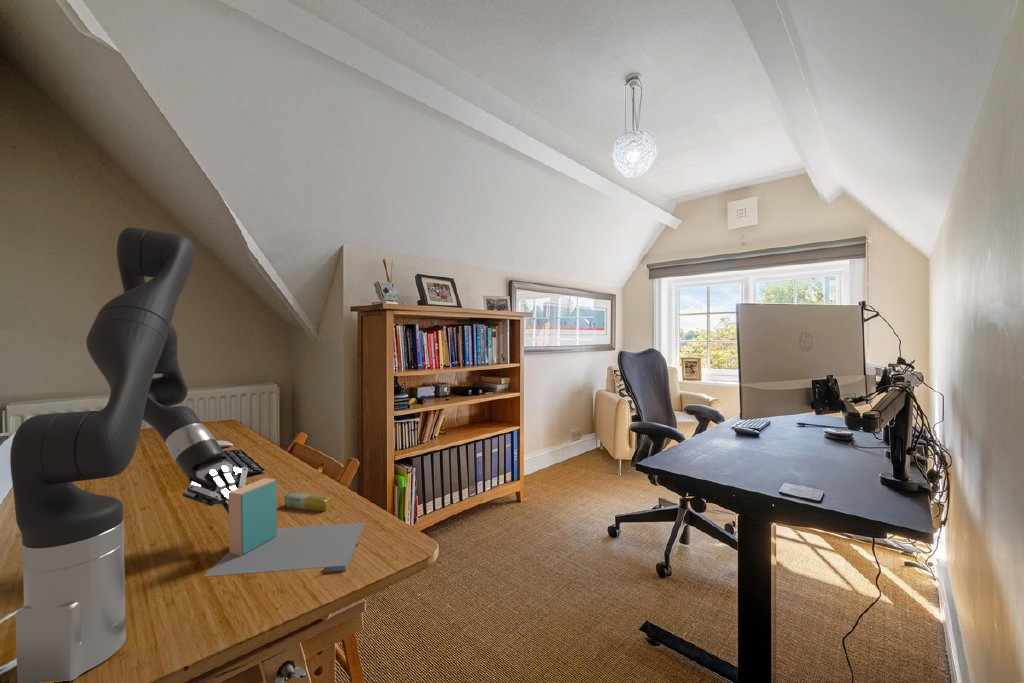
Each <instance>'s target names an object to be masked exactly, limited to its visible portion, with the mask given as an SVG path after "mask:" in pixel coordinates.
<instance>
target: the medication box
mask: <svg viewBox="0 0 1024 683" xmlns="http://www.w3.org/2000/svg"><path fill="white" fill-rule="evenodd" d="M332 499H333V497H332V496H328V495H327V496H326V495H319V494H311V493H303V492H296V491H291V492H289V493H288V494H285V496H284V507H287V508H293V509H300V510H309V511H317V512H327V511H329V510H330V509H332V507H333V506H332V504H333V500H332Z"/></svg>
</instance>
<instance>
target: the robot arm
mask: <svg viewBox="0 0 1024 683" xmlns="http://www.w3.org/2000/svg"><path fill="white" fill-rule="evenodd" d="M195 252H196V251H195V247H194V244H193V242H192V241H191V239H189V238H188V237H187V236H184V235H181V234H176V233H171V232H165V231H159V230H153V229H147V228H146V229H145V228H140V227H131V226H129V227H125V228H124V229H123V230H121V232H120V233H119V235H118V239H117V242H116V259H117V265H118V270H119V271H118V272H119V275H120V280H121V285H122V290H123V292H122V293H121V294H118V295H117V296H115V297H113V298H112V299H110V300H109V301H108V302H106V303H105V304H104V305H103V306H102V307H101V309H100V310H99V312H98V313H97V315H96V317H95V320H94V321H93V323H92V325H91V327H90V330H89V331H88V334H87V337H86V340H85V342H86V343H85V344H86V348H87V351H88V354H89V356H90V358H91V360H92V361H93V363H94V364H95V366H96V367H97V368H98V370H99V371H100V372H101V374H102V375H103V376H104V378H105V380H106V382H107V384H108V386H109V389H110V394H109V399H108V402H107V404H106V405H105V407H103V408H102V409H100V410H85V411H84V410H83V411H70V412H69V411H68V412H67V411H66V412H53V413H44V414H43V413H41V414H37V415H36V414H35V415H34V416H31V417H29V418H27V419H26V420H24V421H22V423H21V424H20V425H19V427H17V429H16V431H15V434H14V435H13V438H12V441H11V442H12V443H11V446H10V452H9V453H10V455H9V456H10V457H9V458H10V459H9V462H10V473H11V474H10V475H11V483H12V489H13V500H14V510H15V511H14V512H15V521H16V524H17V528H18V529H19V531H20V533H21V540H22V541H21V544H22V578H23V580H22V582H23V585H22V586H23V607H21V608H20V609H19V610H17V611H16V612H15V614H14V617H15V640H16V641H15V644H16V645H15V647H16V652H15V653H16V679H17V681H16V682H17V683H38V682H39V683H40V682H50V681H61V680H69V681H70V682H72V681H71V680H73V681H75V680H76V679H77V678H78V677H79V676H81V675H82V674H84V673H85V672H87V671H89V670H91V669H93V668H95V667H97V666H99V665H100V664H102V663H104V662H105V661H106V660H109V658H111V657H112V656H113V655H114V654H116V653H117V652H118V651H119V650H120V649H121V648H122V646H123V645H124V643H125V642H126V640H127V628H126V627H127V625H126V624H127V623H126V621H127V620H126V618H127V617H126V588H125V587H126V578H125V577H126V576H125V531H124V530H125V529H124V528H125V527H124V523H125V522H124V505H123V502H122V501H121V500H120V499H118V498H116V497H113V496H111V495H110V496H109V495H102V494H96V493H92V492H89V491H87V490H85V489H81V488H80V487H78V485H76V484H75V483H74V482H81V481H82V482H83V481H91V480H100V479H107V478H112V477H116V476H118V475H120V474H122V473H123V472H124V471H125V470H126V469H127V468H128V467H129V465H130V464H131V462H132V460H133V458H134V456H135V453H136V450H137V447H138V443H139V438H140V434H141V430H142V425H143V421H144V422H146V423H147V424H148V425H149V426H151V427H152V428H153V429H154V430H155V431H156V432H157V433H158V434H159V436H160V437H161V440H163V442H164V443H165V444H166V447H167V450H168V452H169V453H170V455H171V456H172V458H173V459H174V461H175V462H176V464H177V465H178V467H179V468H180V470H181V471H182V473H183V474H184V476H185V477H186V478H188V482H189V485H188V486H187V487H186V489H185V490H184V491H183V492H182V496H183V497H184V498H187V499H189V500H192V501H195V502H198V503H200V504H204V505H207V506H209V507H213V506H215V505H220V506H222V507H223V508H224V510H225V511H226V513H227V514H228V515H229V492H231V491H233V490H236V489H238V488H241V487H243V486H246V485H247V484H246V483H247V478H248V477H247V476H248V472H249V471H248V468H249V467H247V466H243V467H241V468H239V467H236V466H234V463H232V462H230V461H229V460H228V459H227V453H226V452H225V451H224V450H223V448H222V447H221V445H220V444H219V442H218V441H217V440H216V438H215V437H214V435H213V434H212V432H211V431H210V430H209V429H208V428H207V427H205V425H204V424H203V423H202V421H201V420H200V418H199V417H198V415H197V414H196V413H195V411H194V410H193V409H192V408H191V407H189V406H186V405H179V404H182V403H183V402H184V401H185V400H186V398H187V397H188V391H189V389H188V386H187V383H186V381H185V379H184V376H183V374H182V372H181V369H180V365H179V360H178V334H177V331H176V329H175V327H174V325H173V323H172V321H173V317H174V315H175V314H174V313H175V310H176V307H177V303H178V301H179V298H180V296H181V294H182V292H183V290H184V287H185V285H186V283H187V282H188V279H189V278H190V275H191V272H192V270H193V266H194V264H195V257H196V253H195ZM145 277H146V278H147V277H148V278H151V279H149V280H148V281H146V279H145ZM154 374H155V375H156V374H157V375H161V376H158V377H154ZM153 377H154V378H153ZM177 405H178V406H177ZM74 679H75V680H74Z"/></svg>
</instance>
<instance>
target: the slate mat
mask: <svg viewBox="0 0 1024 683" xmlns="http://www.w3.org/2000/svg"><path fill="white" fill-rule="evenodd" d="M366 524H367V522H355V523H354V522H353V523H351V522H350V523H338V524H336V523H335V524H323V525H309V526H307V525H306V526H294V527H293V526H292V527H290V526H289V527H277V536H275V537H274V538H272V539H270V540H268V541H267V542H265V543H263V544H261V545H259V546H258V547H256V548H254V549H252V550H251V551H249V552H247V553H245V554H243V555H242V556H240V555H235V554H230V550H228V552H227V553H226V554H225V555H223V557H222V558H221V559H220V560H218V561H217V563H215V564H214V565H213V566H212V567H211V569H209V570H208V571H207V572H206V573H205V574H204V575H203V576H202V577H203V578H205V577H207V578H208V577H219V576H230V575H243V574H256V573H257V574H258V573H269V572H280V571H281V572H282V571H283V572H285V571H293V570H294V571H295V570H305V569H306V570H308V569H317V568H318V569H320V568H323V569H322V570H321V571H319V572H318V573H319V574H320V573H321V574H322V573H334V572H345V571H346V570H347V568H348V566H349V564H350V562H351V560H352V558H353V556H354V554H355V551H356V549H357V548H358V545H359V543H358V541H359V538H360V537H361V534H362V532H363V530H364V528H365V526H366Z"/></svg>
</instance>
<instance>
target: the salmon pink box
mask: <svg viewBox="0 0 1024 683" xmlns="http://www.w3.org/2000/svg"><path fill="white" fill-rule="evenodd" d="M277 513H278V512H277V480H276V478H275V479H274V478H269V477H268V478H266V477H264V478H262V479H259V480H256V481H254V482H251V483H249V484H245V486H243V487H241V488H238V489H236V490H233V491H231V492H229V514H228V533H229V534H228V535H229V536H228V545H229V550H228V551H230V554H235V555H240V556H242V555H243V554H245V553H247V552H249V551H251V550H252V549H254V548H256V547H258V546H259V545H261V544H263V543H265V542H267V541H268V540H270V539H272V538H274V537H275V536H277V528H278V526H277V525H278V522H277V521H278V519H277V518H278V516H277Z"/></svg>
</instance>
